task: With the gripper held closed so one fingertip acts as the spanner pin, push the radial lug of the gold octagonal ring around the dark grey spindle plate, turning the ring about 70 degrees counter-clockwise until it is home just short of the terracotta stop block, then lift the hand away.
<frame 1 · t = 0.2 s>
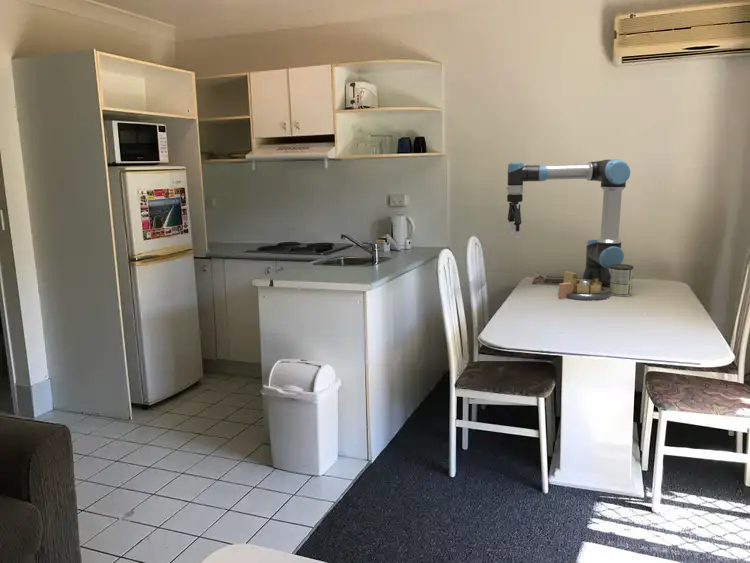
hand: (513, 236, 314), 28 cm above the table, fingers open, 13 cm apart
spindle plate: (584, 294, 305), on the table
stop block: (565, 297, 300), on the table
gold octagonal ring: (580, 282, 307), point 6 cm above the table, hinge at 0.0°
coffee can: (620, 294, 305), on the table
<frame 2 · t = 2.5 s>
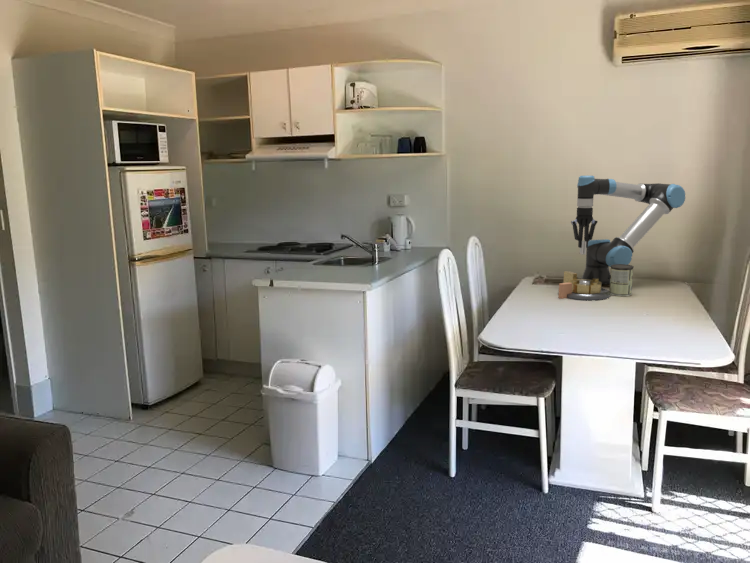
hand: (582, 253, 313), 18 cm above the table, fingers closed
nothing on the table moved.
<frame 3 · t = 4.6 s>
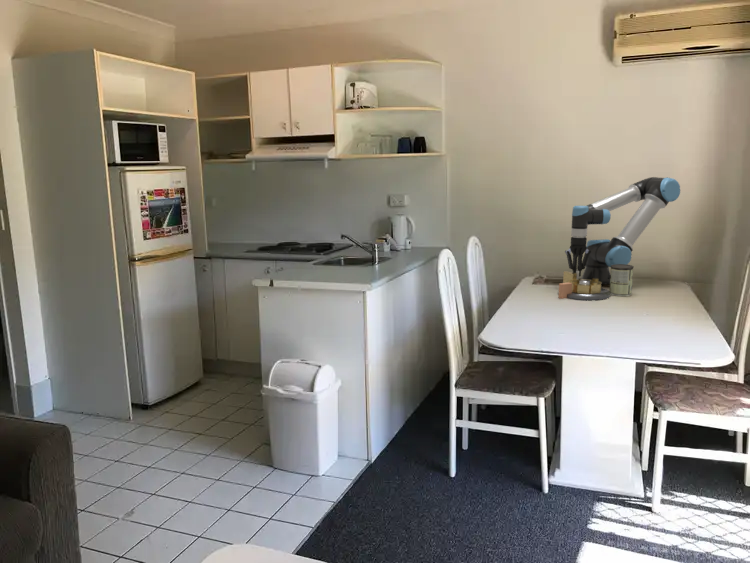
hand: (576, 282, 315), 4 cm above the table, fingers closed
gold octagonal ring: (579, 282, 307), point 6 cm above the table, hinge at 0.9°, touching gripper
everything else where it was.
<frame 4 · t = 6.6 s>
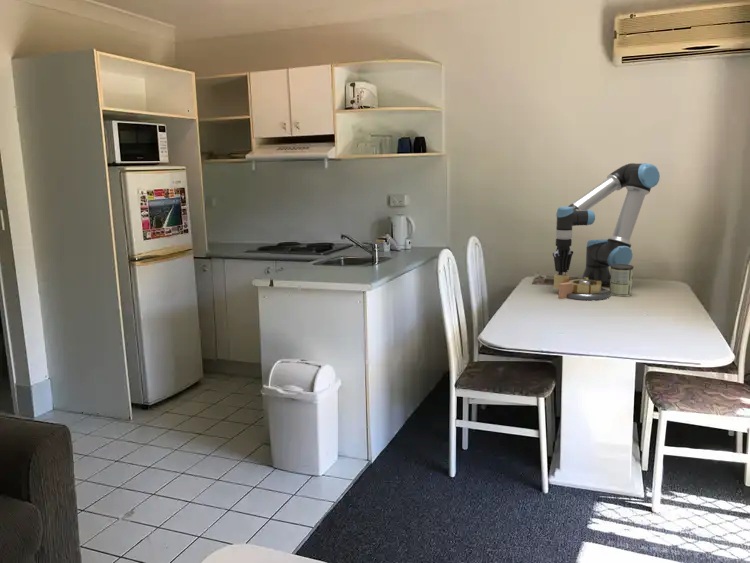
hand: (561, 284, 312), 4 cm above the table, fingers closed
gold octagonal ring: (577, 282, 305), point 6 cm above the table, hinge at 45.0°, touching gripper
everything else where it was.
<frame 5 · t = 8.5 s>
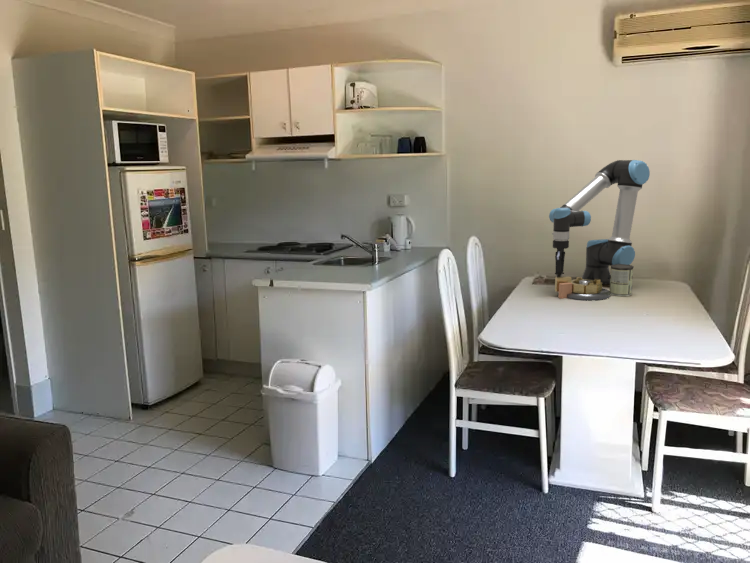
hand: (558, 287, 307), 3 cm above the table, fingers closed
gold octagonal ring: (577, 283, 303), point 6 cm above the table, hinge at 74.0°, touching gripper
everything else where it was.
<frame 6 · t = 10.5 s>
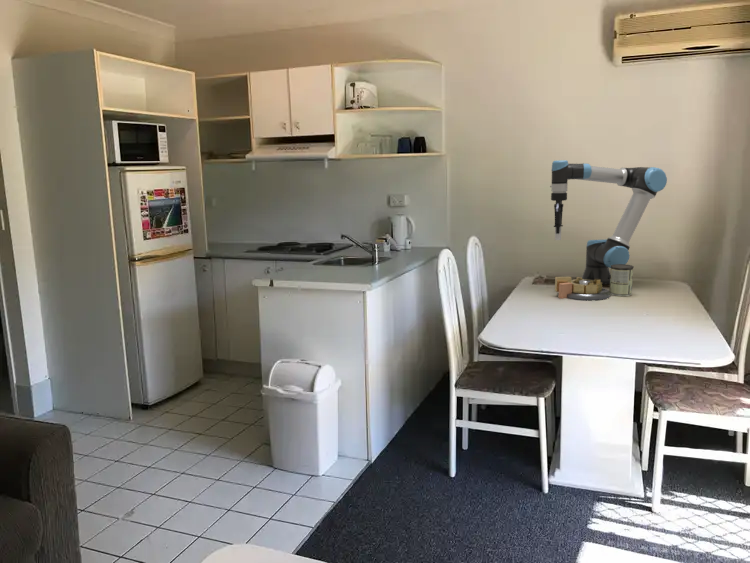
hand: (557, 239, 310), 26 cm above the table, fingers closed
gold octagonal ring: (577, 283, 303), point 6 cm above the table, hinge at 74.0°
everything else where it was.
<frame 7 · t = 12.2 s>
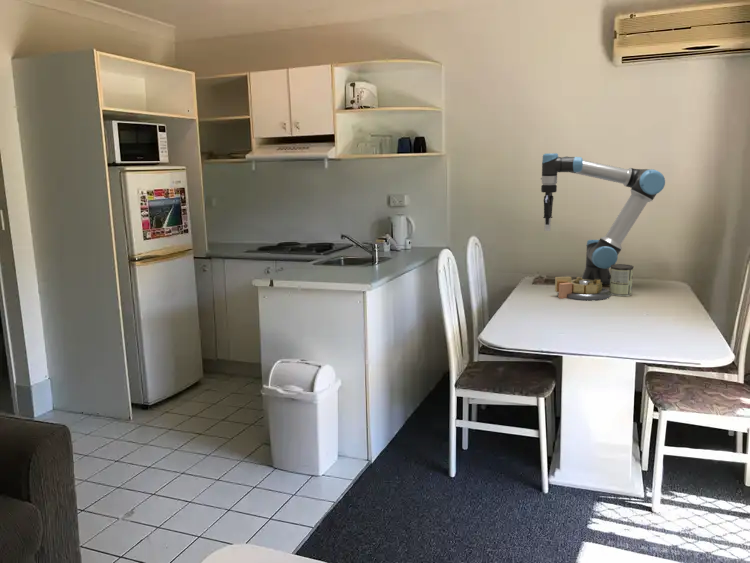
hand: (547, 230, 319), 29 cm above the table, fingers closed
nothing on the table moved.
at the end: gold octagonal ring at +74° (first picture: +0°) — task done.
